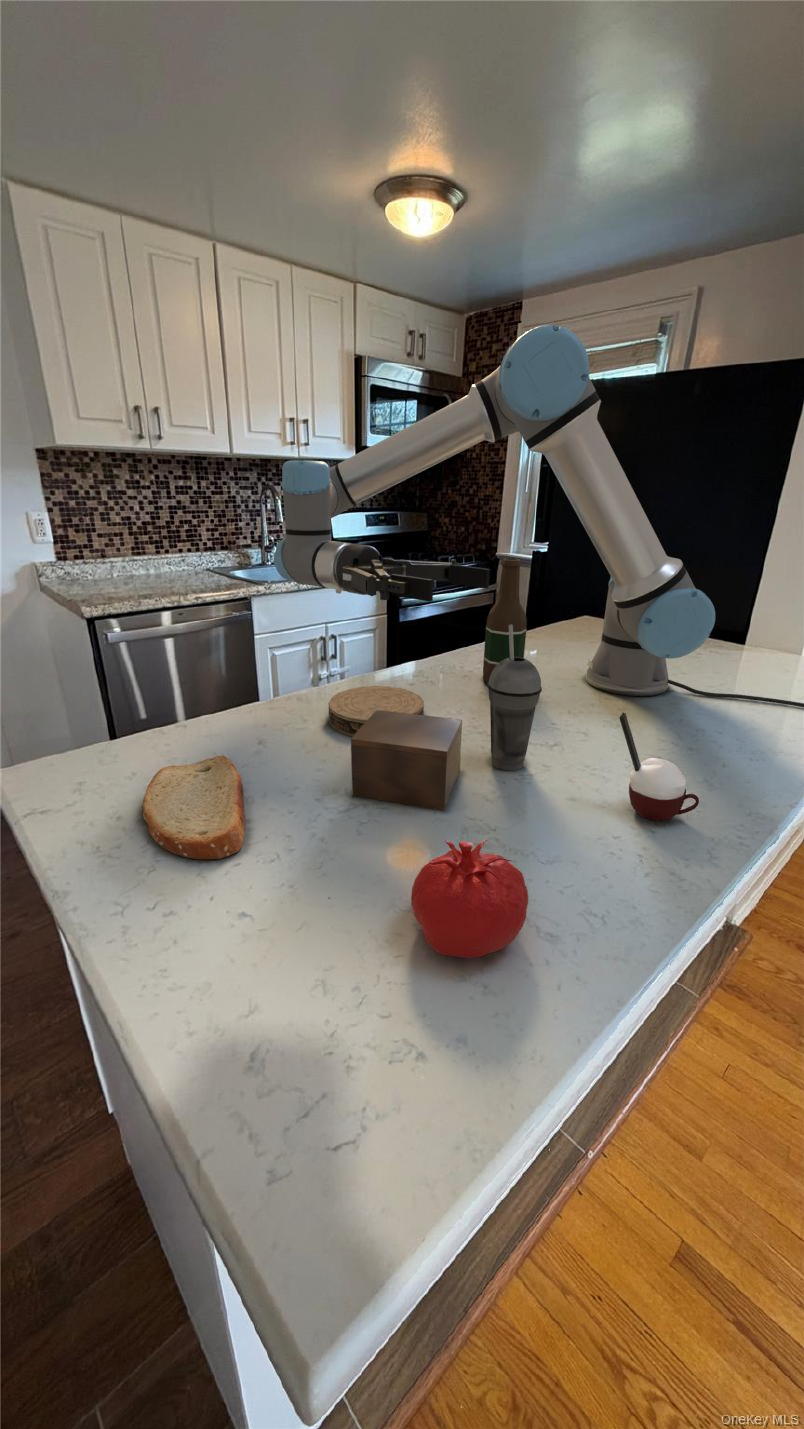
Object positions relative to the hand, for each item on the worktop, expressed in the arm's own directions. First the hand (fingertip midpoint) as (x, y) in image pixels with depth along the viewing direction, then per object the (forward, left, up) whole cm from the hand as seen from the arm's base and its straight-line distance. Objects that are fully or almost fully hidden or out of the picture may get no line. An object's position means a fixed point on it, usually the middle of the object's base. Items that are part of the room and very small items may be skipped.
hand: (461, 584), depth 77 cm
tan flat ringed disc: (+14, -6, -24) cm, 29 cm away
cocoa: (-27, +12, -24) cm, 38 cm away
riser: (+3, +14, -24) cm, 28 cm away
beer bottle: (-4, -32, -24) cm, 40 cm away
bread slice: (+25, +27, -24) cm, 44 cm away
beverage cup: (-9, +4, -24) cm, 26 cm away
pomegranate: (-9, +38, -24) cm, 46 cm away
